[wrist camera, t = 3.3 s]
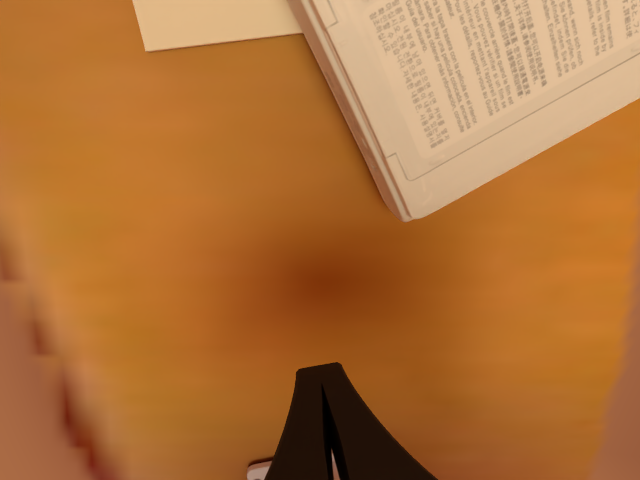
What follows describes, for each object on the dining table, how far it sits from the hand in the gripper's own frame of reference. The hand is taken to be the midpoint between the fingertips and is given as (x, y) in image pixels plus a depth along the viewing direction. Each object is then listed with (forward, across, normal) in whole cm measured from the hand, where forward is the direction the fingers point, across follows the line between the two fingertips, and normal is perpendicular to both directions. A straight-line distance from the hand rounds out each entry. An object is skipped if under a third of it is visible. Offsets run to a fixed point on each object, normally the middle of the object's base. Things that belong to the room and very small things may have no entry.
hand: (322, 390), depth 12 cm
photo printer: (+5, -2, -8) cm, 10 cm away
